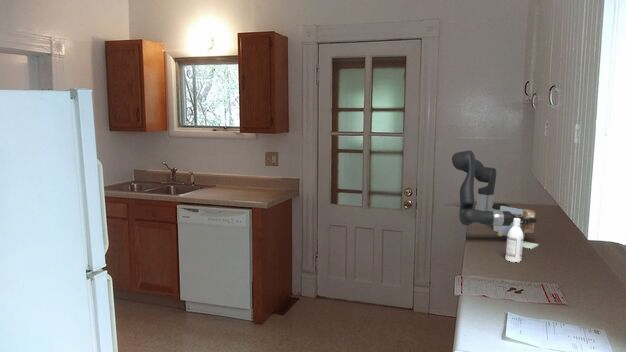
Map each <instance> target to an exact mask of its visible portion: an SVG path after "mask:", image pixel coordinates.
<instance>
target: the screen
mask: <svg viewBox="0 0 626 352" xmlns="http://www.w3.org/2000/svg"><path fill="white" fill-rule="evenodd" d="M523 210H524V209H523V208H516V207H506V206H500V211H510V212H511V214H521V215H523ZM512 226H513V222H512V223H511V225H510V226H499V229H498V232H497V236H498V237H503V236H504V237H507V235H508V232H509V230H510V229H511V228H512ZM521 226H522V224H520V228H521ZM522 232H523V231H522ZM525 234H526V233H524V232H523V241H525V238H526V235H525Z"/></svg>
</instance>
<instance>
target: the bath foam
mask: <svg viewBox="0 0 626 352" xmlns="http://www.w3.org/2000/svg"><path fill="white" fill-rule="evenodd" d="M523 241H524V240H523V232H522V230H521V228H520V219H519V218H514V220H513V226H512V228H511V229H510V230H509V232H508V235H507V236H506V246H505V247H506V248H505V257H504V258H505V260H506V261H508V262H509V261H510V263H515V262H517V263H521V262H522V257H523V248H524V247H523ZM520 261H521V262H520Z"/></svg>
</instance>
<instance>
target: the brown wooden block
mask: <svg viewBox="0 0 626 352" xmlns="http://www.w3.org/2000/svg"><path fill="white" fill-rule="evenodd" d="M522 210H523V217H524V218H536V211H535V210H533V209H522ZM521 230H522V231H523V232H524V233H525V234H526V233H527V234H529V233H530V234H534V231H535V223H529V224H522V226H521Z"/></svg>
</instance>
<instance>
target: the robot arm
mask: <svg viewBox="0 0 626 352" xmlns="http://www.w3.org/2000/svg"><path fill="white" fill-rule="evenodd" d="M451 162H452V165H453V167H454V168H455V169H456V170H458V171H463V172H465V173H466V175H465V178H464V180H463V182H462V184H461V186H460V188H459V203H460V204H459V215H458V217H459V221H460V223H461V224H462V225H463V226H470V225H472V224H473V223H479V224H481V225H485V226H489V225H490V226H493V225H496V226H510V225H511V223H512V222H513V220H514V218H519V219H520V224H529V223H534V224H537V218H536V217H535V218H524V217H523V215H521V214H511V212H510V211H493V208H492V206H493V204H494V198H495V197H494V195H495V187H496V180H497V170H496V168H495V167H489V166H485V165H484V164H483V163H482V162H481V161H480V160H479V159H476V156H475V153H474V151H473V150H465V151H459V152H456V153H454V154H453V155H452V157H451ZM475 179H476V180H477V181H478V182H479V183H480V182H481V183H488V184H487V185H486V186H484V187H479V188H478V189H477V197H476V200H477V201H476V205H475V193H474V192H475V189H474V187H475V186H474V184H475Z"/></svg>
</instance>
